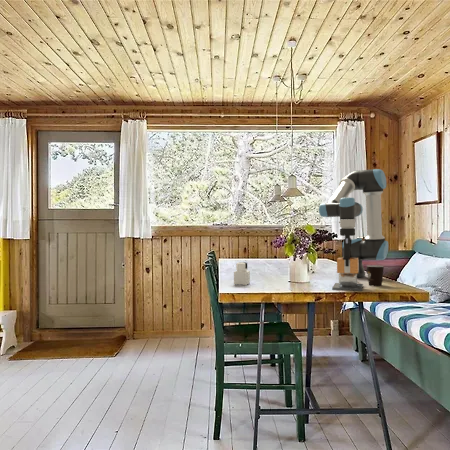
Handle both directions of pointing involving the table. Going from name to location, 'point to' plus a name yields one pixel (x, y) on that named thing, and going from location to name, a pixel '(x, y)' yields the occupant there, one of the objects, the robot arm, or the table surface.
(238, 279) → the medicine bottle
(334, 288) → the piston stand
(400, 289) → the table surface
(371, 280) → the coffee mug
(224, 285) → the table surface
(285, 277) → the table surface
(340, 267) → the orange brown box
